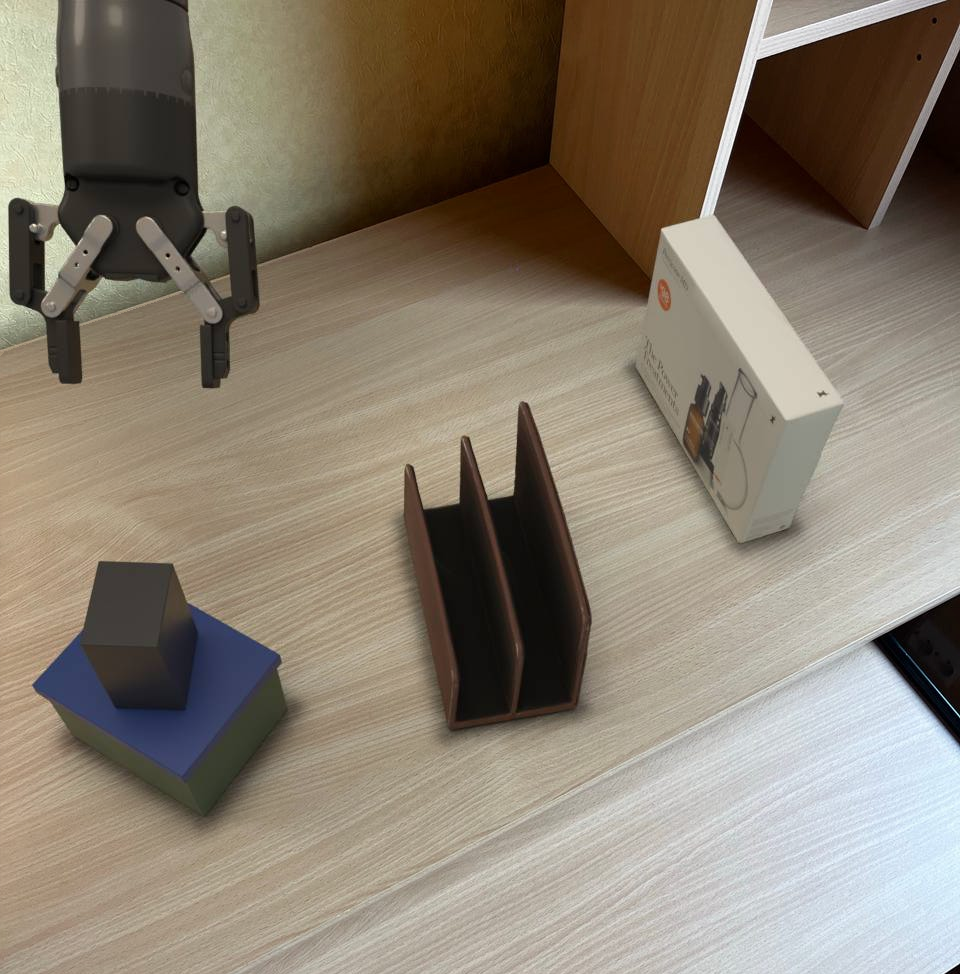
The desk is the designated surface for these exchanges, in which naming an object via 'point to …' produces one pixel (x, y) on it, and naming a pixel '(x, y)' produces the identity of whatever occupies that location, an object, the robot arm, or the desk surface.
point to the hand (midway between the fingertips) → (140, 385)
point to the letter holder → (501, 590)
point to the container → (178, 714)
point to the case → (140, 635)
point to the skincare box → (733, 379)
